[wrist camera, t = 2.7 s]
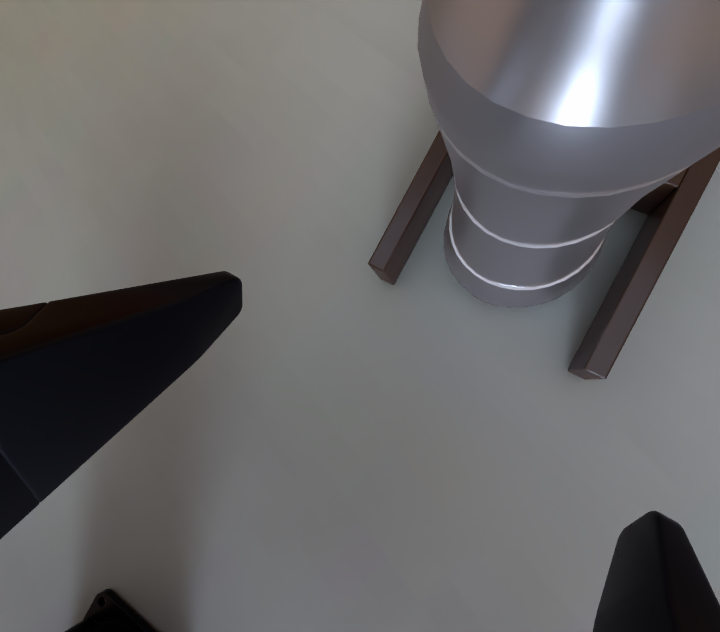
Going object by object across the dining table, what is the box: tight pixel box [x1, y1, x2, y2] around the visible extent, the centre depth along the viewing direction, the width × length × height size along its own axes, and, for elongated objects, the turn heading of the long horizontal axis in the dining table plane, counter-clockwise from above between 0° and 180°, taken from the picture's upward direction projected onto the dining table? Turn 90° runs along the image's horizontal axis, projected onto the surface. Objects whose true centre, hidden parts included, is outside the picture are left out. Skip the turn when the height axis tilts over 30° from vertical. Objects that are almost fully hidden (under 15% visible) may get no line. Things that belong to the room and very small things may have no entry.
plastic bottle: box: [418, 0, 720, 308], centre depth 12 cm, size 6×7×20 cm
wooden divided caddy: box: [368, 130, 720, 379], centre depth 17 cm, size 11×19×10 cm, turn 151°
